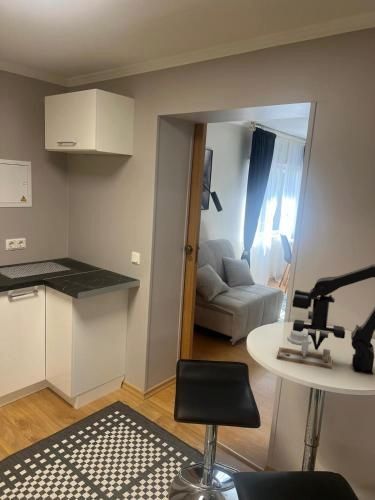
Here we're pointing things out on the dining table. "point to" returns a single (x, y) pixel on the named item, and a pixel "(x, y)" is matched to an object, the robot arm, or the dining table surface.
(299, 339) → the mechanical component
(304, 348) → the block
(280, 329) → the dining table surface
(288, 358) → the board
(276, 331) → the dining table surface
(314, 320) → the robot arm
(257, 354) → the dining table surface
